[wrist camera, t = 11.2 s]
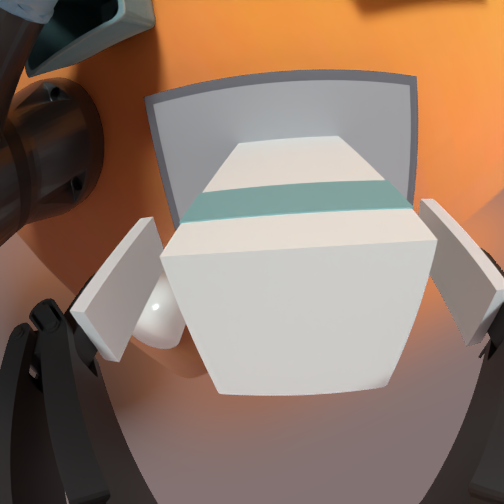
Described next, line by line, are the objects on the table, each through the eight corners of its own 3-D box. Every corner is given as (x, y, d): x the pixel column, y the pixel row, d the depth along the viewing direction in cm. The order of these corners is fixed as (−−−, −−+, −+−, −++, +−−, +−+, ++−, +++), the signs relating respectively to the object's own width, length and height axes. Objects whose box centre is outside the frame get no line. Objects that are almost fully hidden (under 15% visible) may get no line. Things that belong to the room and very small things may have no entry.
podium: (196, 255, 28) (187, 275, 25) (159, 95, 20) (141, 97, 17) (393, 244, 25) (404, 264, 22) (400, 76, 16) (418, 76, 14)
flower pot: (180, 36, 17) (125, 16, 9) (95, 72, 18) (25, 80, 11) (166, -38, 12) (116, -75, 4) (85, 2, 14) (20, -8, 6)
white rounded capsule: (158, 303, 33) (138, 346, 27) (141, 264, 30) (114, 306, 24) (202, 303, 32) (187, 350, 26) (189, 262, 29) (168, 309, 23)
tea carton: (251, 230, 22) (218, 394, 11) (237, 142, 18) (156, 255, 7) (340, 225, 21) (386, 386, 9) (339, 135, 17) (439, 238, 6)
